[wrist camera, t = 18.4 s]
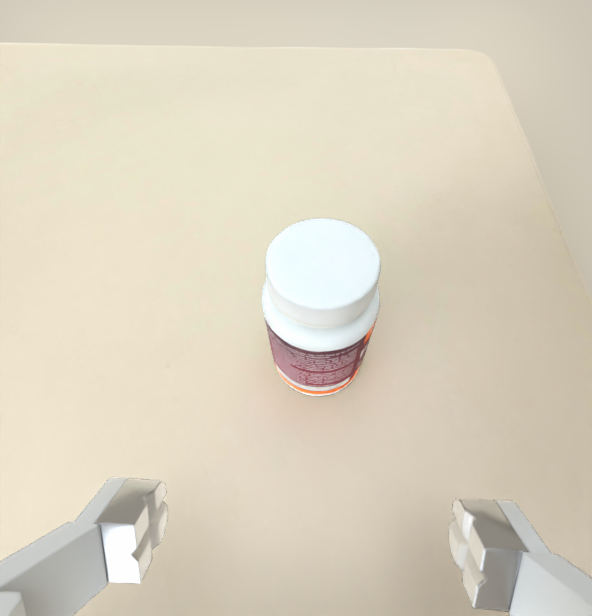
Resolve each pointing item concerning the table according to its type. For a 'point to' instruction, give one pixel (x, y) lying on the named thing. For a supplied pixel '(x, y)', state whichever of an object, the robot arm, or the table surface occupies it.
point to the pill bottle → (320, 303)
